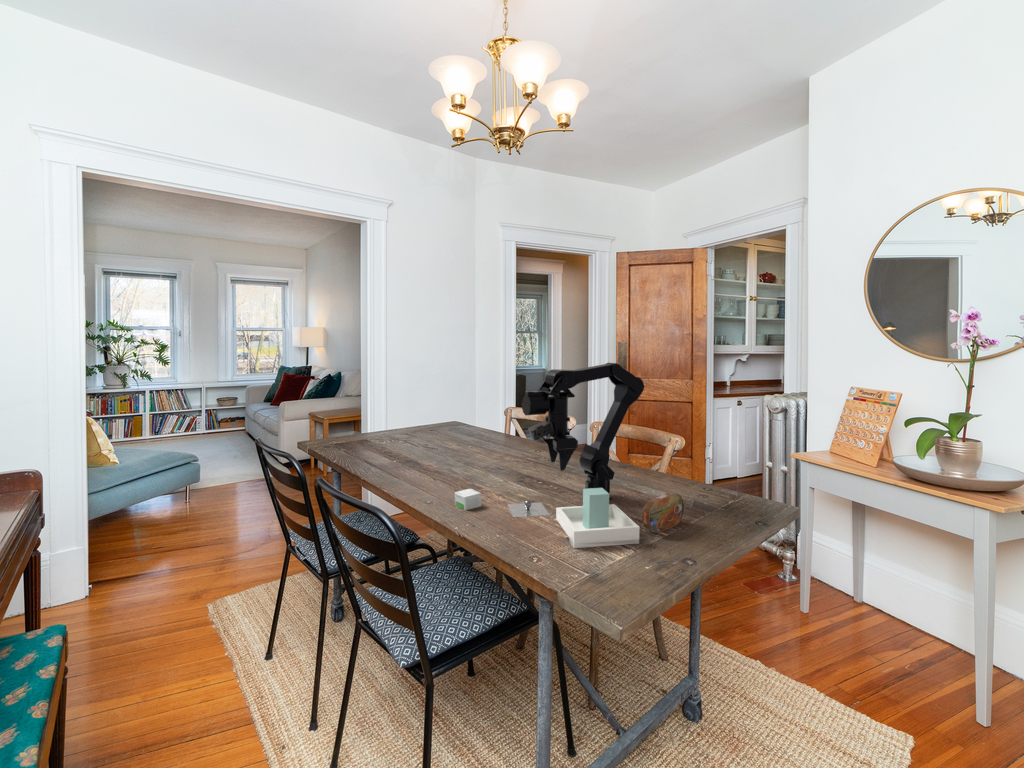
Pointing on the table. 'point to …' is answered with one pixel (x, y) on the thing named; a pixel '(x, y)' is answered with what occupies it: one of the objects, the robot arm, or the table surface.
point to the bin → (615, 534)
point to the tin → (663, 512)
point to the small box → (468, 499)
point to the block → (595, 508)
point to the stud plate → (527, 509)
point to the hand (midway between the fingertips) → (557, 466)
